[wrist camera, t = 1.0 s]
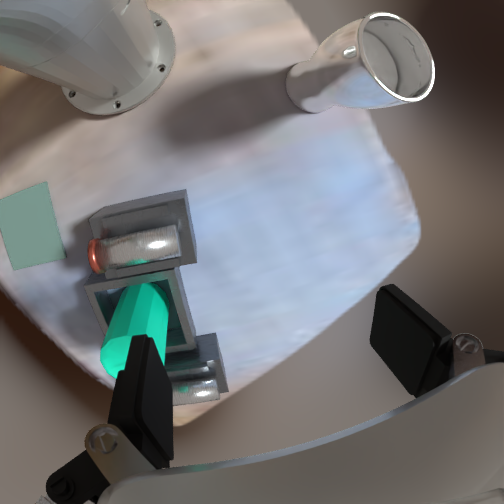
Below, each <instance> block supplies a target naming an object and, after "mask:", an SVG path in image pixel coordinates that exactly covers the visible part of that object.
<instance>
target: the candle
mask: <svg viewBox="0 0 504 504" xmlns="http://www.w3.org/2000/svg"><path fill="white" fill-rule="evenodd" d="M169 305H170V303H169V301H168V298H167V295H166V292H164V291H163V290H162V289H161V288H160V287H159V286H158V285H157V284H154V283H151V282H149V283H143V284H138V285H132V286H127V287H126V288H125V289H124V291H123V292H122V294H121V297H120V299H119V302H118V304H117V307H116V309H115V312H114V314H113V317H112V320H111V322H110V325H109V328H108V330H107V333H106V336H105V339H104V342H103V344H102V347H101V352H100V361H101V363H102V365H103V367H104V368H105V370H106V372H107V373H108V374H109V375H111V376H112V377H114V378H117V374H118V372H119V371H120V370H124V368H125V364H126V359H127V355H128V351H129V346H130V342H131V338H132V336H134V335H142V334H147V335H148V337H152V338H153V339H154V342H155V345H156V347H157V350H158V352H159V355H160V357H161V360H162V362H163V365H164V361H165V348H166V336H167V325H168V315H169Z"/></svg>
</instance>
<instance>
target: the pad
mask: <svg viewBox="0 0 504 504" xmlns="http://www.w3.org/2000/svg"><path fill="white" fill-rule="evenodd" d="M0 229H1V233H2V236H3V240H4V243H5V246H6V249H7V252H8V255H9V258H10V261H11V264H12V267H13V269H14V270H18V269H22V268H26V267H30V266H35V265H39V264H43V263H47V262H52V261H56V260H60V259H65V258H66V257H67V256H66V253H65V250H64V247H63V244H62V240H61V237H60V234H59V230H58V226H57V223H56V219H55V215H54V211H53V207H52V203H51V198H50V194H49V189H48V184H47V181H46V182H43V183H41V184H38V185H35V186H33V187H30V188H27V189H25V190H22V191H20V192H17V193H15V194H13V195H10V196H8V197H5V198H3V199H1V200H0Z"/></svg>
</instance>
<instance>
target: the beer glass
mask: <svg viewBox="0 0 504 504" xmlns="http://www.w3.org/2000/svg"><path fill="white" fill-rule="evenodd" d="M434 76H435V70H434V63H433V59H432V56H431V53H430V51H429V48H428V46H427V44H426V43H425V41H424V39H423V38H422V36H421V35H420V34H419V32H417V30H416V29H415V28H414V27H413V26H412V25H411V24H409V23H408V22H407V21H405V20H404V19H402V18H401V17H399V16H397V15H394V14H391V13H388V12H374V13H371V14H369V15H367V16H366V17H363V18H361V19H358V20H356V21H354V22H351V23H349V24H347V25H345V26H344V27H342V28H340V29H338V30H337V31H335V32H334V33H333V34H331V35H330V36H329V37H328V38H326V39H325V41H324V42H323V43H322V44H321V45H320V46H319V47H318V49H317V50H316V51H315V53H314V54H313V56H312V57H311V58H310V60H307V61H303V62H300V63H298V64H296V65H294V66H293V67H292V68H291V69H290V70H289V72H288V74H287V77H286V91H287V94H288V96H289V98H290V99H291V101H292V102H293V103H294V104H295V105H296V106H297V107H299V108H300V109H302V110H304V111H307V112H311V113H320V112H324V111H326V110H328V109H330V108H331V107H333V106H340V107H347V108H355V109H376V108H384V107H390V106H395V105H400V104H405V103H409V102H418V101H420V100H422V99H424V98H425V97H426V96H427V95H428V94H429V93H430V91H431V88H432V87H433V83H434Z"/></svg>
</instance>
